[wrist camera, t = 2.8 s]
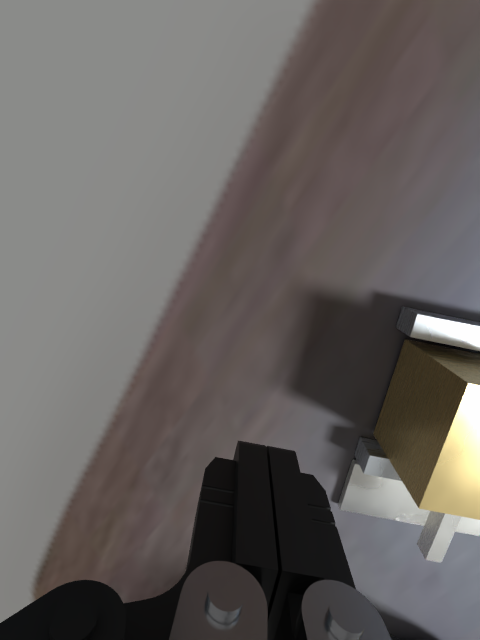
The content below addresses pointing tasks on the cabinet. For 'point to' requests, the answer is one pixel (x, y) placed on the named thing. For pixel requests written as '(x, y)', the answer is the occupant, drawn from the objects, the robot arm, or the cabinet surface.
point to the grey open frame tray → (372, 463)
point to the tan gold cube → (435, 437)
